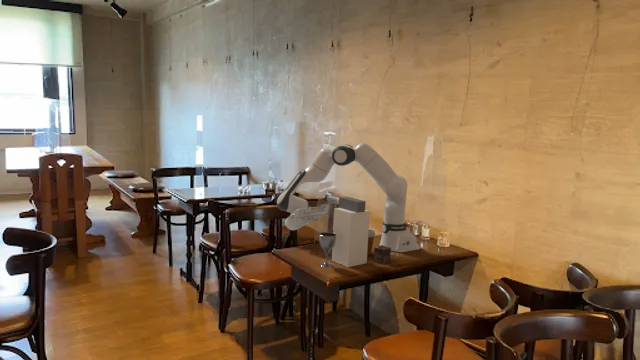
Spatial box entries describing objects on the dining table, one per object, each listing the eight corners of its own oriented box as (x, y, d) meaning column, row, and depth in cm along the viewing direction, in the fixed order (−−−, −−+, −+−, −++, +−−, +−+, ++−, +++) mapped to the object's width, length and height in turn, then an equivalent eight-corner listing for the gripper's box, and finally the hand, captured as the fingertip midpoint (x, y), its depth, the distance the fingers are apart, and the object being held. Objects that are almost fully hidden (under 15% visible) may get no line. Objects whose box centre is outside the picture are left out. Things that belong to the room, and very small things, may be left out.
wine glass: (328, 261, 242) (329, 231, 239) (338, 265, 235) (339, 235, 233) (314, 263, 237) (316, 233, 235) (324, 268, 231) (326, 237, 228)
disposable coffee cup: (377, 255, 255) (379, 232, 253) (362, 257, 250) (363, 234, 249) (367, 250, 263) (368, 228, 262) (352, 252, 259) (353, 229, 257)
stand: (330, 259, 244) (333, 197, 239) (348, 256, 251) (352, 195, 247) (348, 267, 234) (352, 202, 229) (367, 263, 241) (370, 200, 236)
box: (390, 262, 245) (391, 247, 244) (382, 264, 241) (383, 249, 240) (380, 259, 249) (381, 244, 248) (373, 261, 245) (374, 246, 244)
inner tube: (324, 201, 252) (324, 194, 252) (329, 200, 254) (329, 194, 254) (355, 209, 234) (355, 202, 234) (360, 208, 236) (360, 202, 236)
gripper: (287, 212, 264) (300, 203, 254) (317, 208, 276) (331, 199, 266) (290, 223, 262) (304, 214, 252) (320, 219, 275) (335, 210, 264)
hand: (318, 207), depth 259 cm, fingers open, 8 cm apart
